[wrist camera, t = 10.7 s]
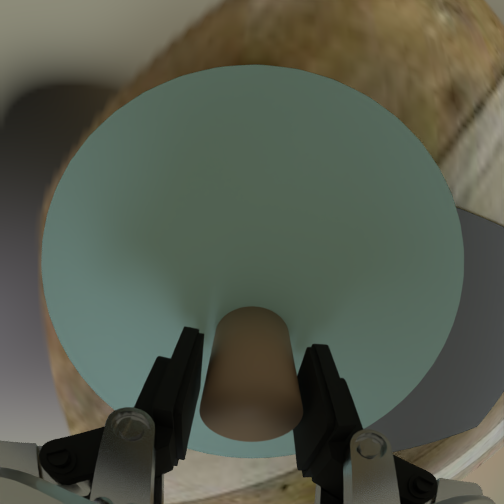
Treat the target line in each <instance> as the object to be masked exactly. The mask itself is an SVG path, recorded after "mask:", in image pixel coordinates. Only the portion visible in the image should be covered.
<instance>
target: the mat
mask: <svg viewBox="0 0 504 504" xmlns="http://www.w3.org/2000/svg"><path fill="white" fill-rule="evenodd" d="M456 210H457V213H458V217H459V220H460V225H461V231H462V238H463V246H464V278H463V285H462V292H461V298H460V303H459V306H458V310H457V313H456V317H455V320H454V323H453V326H452V328H451V331H450V333H449V335H448V338H447V340H446V342H445V344H444V346H443V348H442V350H441V352H440V353H439V355H438V357H437V359H436V360H435V362H434V364H433V365H432V367H431V368H430V369H429V371H428V372H427V373H426V375H425V376H424V377H423V379H422V380H421V381H420V382H419V384H418V385H417V386H416V387H415V388H414V389H413V390H412V391H411V392H410V393H409V394H408V395H407V396H406V397H405V399H403V400H402V401H401V402H400V403H399V404H398V405H397V406H395V407H394V408H393V409H392V410H391V411H389V412H388V413H387V414H386V415H384V416H383V417H381V418H380V419H379V420H377V421H376V422H374V423H373V424H371V425H370V426H368V427H366V428H364V429H363V430H365V429H371V430H376V431H378V432H381V433H382V434H384V435H385V436H386V437H387V438H388V440H389V441H390V444H391V448H392V452H395V451H400V450H404V449H409V448H413V447H417V446H421V445H424V444H428V443H431V442H435V441H438V440H441V439H444V438H448V437H451V436H453V435H456V434H459V433H462V432H464V431H467V430H470V429H472V428H475V427H477V426H478V425H479V424H480V422H481V421H482V420H483V419H484V417H485V416H486V415H487V414H488V412H489V411H490V410H491V408H492V407H493V406H494V404H495V403H496V402H497V400H498V399H499V398H500V396H501V395H502V393H503V392H504V227H502V226H500V225H498V224H495V223H493V222H491V221H489V220H486V219H484V218H482V217H479V216H477V215H474V214H472V213H469V212H467V211H464V210H462V209H459V208H456Z"/></svg>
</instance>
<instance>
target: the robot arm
mask: <svg viewBox="0 0 504 504" xmlns="http://www.w3.org/2000/svg"><path fill="white" fill-rule="evenodd" d="M203 345H204V334H203V333H199V329H197V328H191V327H186V326H184V328H183V330H182V332H181V335H180V337H179V340H178V342H177V344H176V347H175V349H174V352H173V354H172V357H171V358H167V357H162V356H158V357H157V358H156V360H155V362H154V364H153V366H152V369H151V371H150V373H149V375H148V377H147V379H146V381H145V384H144V386H143V388H142V390H141V392H140V395H139V397H138V399H137V401H136V404H135V406H134V407H124V408H119V409H117V410H115V411H113V412H112V413H111V414H110V415H109V416H108V418H107V420H106V424H105V427H101V428H98V429H94V430H91V431H87V432H84V433H80V434H76V435H72V436H68V437H64V438H60V439H55V440H51V441H49V442H47V443H45V444H44V445H43V446H37V445H36V444H35V443H18V442H8V441H0V504H164V474H165V473H167V472H169V471H171V470H173V466H177V465H178V460H179V459H181V460H184V459H185V455H186V451H187V446H188V441H189V437H190V432H191V428H192V423H193V418H194V414H195V410H196V405H197V401H198V396H199V392H200V386H201V372H202V358H203ZM297 379H298V384H299V390H300V395H301V401H302V406H303V416H302V419H301V421H300V422H299V424H298V425H297V426H296V427H295V428H294V429H293V435H294V444H295V453H296V461H297V468H298V470H302V474H303V477H312V481H313V482H314V483H316V493H315V504H495V503H494V501H493V500H491V499H490V498H488V497H486V496H483V494H482V489H481V487H480V486H479V485H478V484H476V483H471V482H463V481H456V480H449V479H443V478H439V479H438V480H436V478H435V477H434V476H433V475H432V474H431V473H429V472H428V471H426V470H424V469H421V468H419V467H417V466H415V465H413V464H411V463H409V462H407V461H405V460H403V459H401V458H399V457H397V456H395V455H393V453H392V448H391V444H390V441H389V440H388V438H387V437H386V436H385V435H384V434H382V433H381V432H378V431H376V430H371V429H365V430H363V427H362V424H361V421H360V418H359V415H358V413H357V410H356V407H355V404H354V401H353V399H352V396H351V393H350V390H349V388H348V385H347V382H346V380H345V379H344V378H340V376H339V373H338V370H337V368H336V365H335V362H334V359H333V357H332V354H331V351H330V348H329V346H328V345H326V344H312V346H311V347H307V348H306V351H305V354H304V357H303V360H302V363H301V366H300V369H299V372H298V375H297Z"/></svg>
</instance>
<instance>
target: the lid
mask: <svg viewBox="0 0 504 504" xmlns="http://www.w3.org/2000/svg"><path fill="white" fill-rule="evenodd" d="M42 278H43V287H44V294H45V298H46V303H47V307H48V311H49V314H50V318H51V320H52V323H53V326H54V328H55V331H56V333H57V336H58V338H59V340H60V342H61V344H62V346H63V348H64V350H65V352H66V354H67V355H68V357H69V359H70V360H71V362H72V363H73V365H74V366H75V368H76V369H77V371H78V372H79V373H80V375H81V376H82V377H83V379H84V380H85V381H86V382H87V383H88V384H89V386H90V387H91V388H92V389H93V390H94V391H95V392H96V393H97V394H98V395H99V396H100V397H101V398H102V399H103V400H104V401H105V402H106V403H107V404H108V405H109V406H111V407H112V408H113V409H114V410H117V409H119V408H124V407H134V406H135V404H136V401H137V399H138V397H139V395H140V392H141V390H142V388H143V386H144V384H145V381H146V379H147V377H148V375H149V373H150V371H151V369H152V366H153V364H154V362H155V360H156V358H157V357H158V356H162V357H167V358H171V357H172V354H173V352H174V349H175V347H176V344H177V342H178V340H179V337H180V335H181V332H182V330H183V328H184V326H186V327H191V328H197V329H199V333H203V334H204V345H203V358H202V372H201V386H200V392H199V396H198V401H197V405H196V410H195V414H194V418H193V423H192V428H191V432H190V437H189V441H188V446H187V448H188V449H192V450H195V451H199V452H203V453H207V454H213V455H219V456H226V457H238V458H270V457H279V456H287V455H293V454H296V453H295V444H294V435H293V429H294V428H295V427H296V426H297V425H298V424H299V422H300V421H301V419H302V416H303V406H302V401H301V395H300V390H299V384H298V379H297V375H298V372H299V369H300V366H301V363H302V360H303V357H304V354H305V351H306V348H307V347H311V346H312V344H326V345H328V346H329V348H330V351H331V354H332V357H333V359H334V362H335V365H336V368H337V370H338V373H339V376H340V378H344V379H345V380H346V382H347V385H348V388H349V390H350V393H351V396H352V399H353V401H354V404H355V407H356V410H357V413H358V415H359V418H360V421H361V424H362V427H363V429H364V428H366V427H368V426H370V425H371V424H373V423H374V422H376V421H377V420H379V419H380V418H381V417H383V416H384V415H386V414H387V413H388V412H389V411H391V410H392V409H393V408H394V407H395V406H397V405H398V404H399V403H400V402H401V401H402V400H403V399H405V397H406V396H407V395H408V394H409V393H410V392H411V391H412V390H413V389H414V388H415V387H416V386H417V385H418V384H419V382H420V381H421V380H422V379H423V377H424V376H425V375H426V373H427V372H428V371H429V369H430V368H431V367H432V365H433V364H434V362H435V360H436V359H437V357H438V355H439V353H440V352H441V350H442V348H443V346H444V344H445V342H446V340H447V338H448V335H449V333H450V331H451V328H452V326H453V323H454V320H455V317H456V313H457V310H458V306H459V303H460V298H461V292H462V285H463V278H464V246H463V238H462V231H461V225H460V220H459V217H458V213H457V210H456V206H455V203H454V200H453V197H452V194H451V192H450V190H449V188H448V185H447V183H446V181H445V179H444V177H443V175H442V173H441V171H440V169H439V167H438V166H437V164H436V163H435V161H434V160H433V158H432V157H431V155H430V154H429V153H428V151H427V150H426V148H425V147H424V146H423V144H422V143H421V142H420V140H419V139H418V138H417V137H416V136H415V135H414V134H413V133H412V132H411V131H410V130H409V129H408V128H407V127H406V126H405V125H404V124H403V123H402V122H401V121H400V120H399V119H398V118H397V117H396V116H394V115H393V114H392V113H390V112H389V111H388V110H386V109H385V108H384V107H382V106H381V105H380V104H378V103H377V102H375V101H374V100H373V99H371V98H370V97H368V96H366V95H364V94H362V93H361V92H359V91H357V90H355V89H353V88H351V87H349V86H346V85H344V84H342V83H340V82H338V81H336V80H333V79H330V78H327V77H324V76H320V75H317V74H314V73H310V72H307V71H303V70H299V69H294V68H286V67H277V66H268V65H240V66H226V67H217V68H212V69H208V70H203V71H199V72H195V73H191V74H187V75H184V76H180V77H178V78H175V79H173V80H170V81H168V82H166V83H163V84H161V85H159V86H157V87H154V88H152V89H150V90H148V91H146V92H144V93H142V94H141V95H139V96H138V97H136V98H135V99H133V100H132V101H130V102H129V103H127V104H126V105H124V106H123V107H121V108H120V109H118V110H117V111H116V112H114V113H113V114H112V115H111V116H110V117H109V118H108V119H107V120H106V121H104V122H103V123H102V124H101V125H100V126H99V127H98V128H97V129H96V130H95V131H94V132H93V133H92V134H91V135H90V136H89V137H88V139H87V140H86V141H85V142H84V144H83V145H82V146H81V148H80V149H79V150H78V152H77V153H76V154H75V156H74V157H73V158H72V160H71V161H70V163H69V165H68V167H67V169H66V170H65V172H64V174H63V176H62V178H61V180H60V182H59V184H58V186H57V188H56V191H55V193H54V196H53V199H52V202H51V205H50V208H49V211H48V214H47V218H46V224H45V229H44V235H43V241H42Z"/></svg>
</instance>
